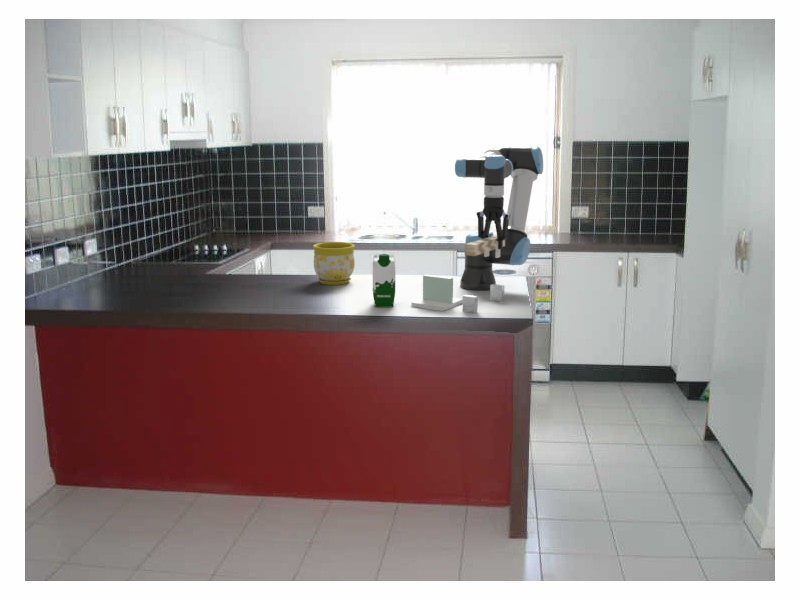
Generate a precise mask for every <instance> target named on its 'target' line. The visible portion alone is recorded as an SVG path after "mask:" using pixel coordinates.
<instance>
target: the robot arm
mask: <svg viewBox="0 0 800 600" xmlns="http://www.w3.org/2000/svg"><path fill="white" fill-rule="evenodd" d="M454 172H455V175H456V177H458V178H478V179H479V178H481V179H484V183H483V184H484V186H483V195H484V197H483V209H482V210H481V211H478V212H476V218H477V232H471V233H469V234H467V235H466V236H465V244H468V243H471V242H474V241H478V240H481V239H485V238H488V237H491V236H495V235H494V232H493V231H490V229H491V226H492V225H491V224H492V222H494V226H495V231H496V235H497V239H498V240H497V241H496V249H494V250H491V251H488V252H485V253H482V254H479V255H476V256H469V255H465V254H464V270H463V273H462V276H461V278H460V285H459V287H461V288H462V289H466V290H474V291H486V290H490V285H492V284H497V281H496V278H495V274H494V270H493V264H496V265H508V266H523V265H524V264H525V263H526V262H527V260H528V258H529V255H530V248H531V239H530V238H528V233H526V224H527V218H528V212H529V207H530V202H531V201H530V200H531V196H532V190H533V183H534V182H535V181H536V180H537V179H538V175H541V174H543V172H544V158H543V151H542V149H541V148H540V147H539V146H532V145H530V146H529V145H527V146H525V145H523V146H522V145H503V146H496V147H495V148H492V149H488V150H485V152H483V153H482V154H479V155H477V156H473V157H458V158H456V161H455V163H454ZM509 176H510V177H511V178H512V183H511V189H510V195H509V199H508V205H507V211H506V212H505V209H504V201H505V200H504V199H505V198H504V196H505V179H506V178H509ZM501 218H503V220H502V219H501ZM484 219H485V220H484ZM484 221H485V224H484ZM503 240H505V246H504V247H503ZM465 244H464V245H465Z"/></svg>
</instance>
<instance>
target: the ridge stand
mask: <svg viewBox="0 0 800 600" xmlns="http://www.w3.org/2000/svg"><path fill="white" fill-rule="evenodd" d="M461 304H462V305H463V298H459V297H454V277H449V276H442V275H441V276H439V275H433V274H423V276H422V298H420V299H418V300H414V301H412V302H411V307H413V306H414V307H415V308H421V309H427V310H435V311H440V312H445V311H447V310H449V309H451V308H454V307H457V306H459V305H461ZM414 307H413V308H414Z"/></svg>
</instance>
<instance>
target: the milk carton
mask: <svg viewBox="0 0 800 600" xmlns="http://www.w3.org/2000/svg"><path fill="white" fill-rule="evenodd" d="M372 297H373V302H374V307H375V308H394V304H395V297H396V261H395V258H394V257H390V254H389V253H382V254H381V253H380V254H378V257H374V258H373V262H372Z"/></svg>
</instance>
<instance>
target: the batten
mask: <svg viewBox="0 0 800 600" xmlns="http://www.w3.org/2000/svg"><path fill="white" fill-rule="evenodd" d="M497 240H498V239H497V234H495V235H493V236H491V237H488V238H485V239H481V240H478V241H474V242H471V243H468V244H464V256H465V255H469V256H476V255H479V254H482V253H485V252H488V251H491V250H494V249H496V241H497ZM504 246H505V240H503V247H504Z"/></svg>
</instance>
